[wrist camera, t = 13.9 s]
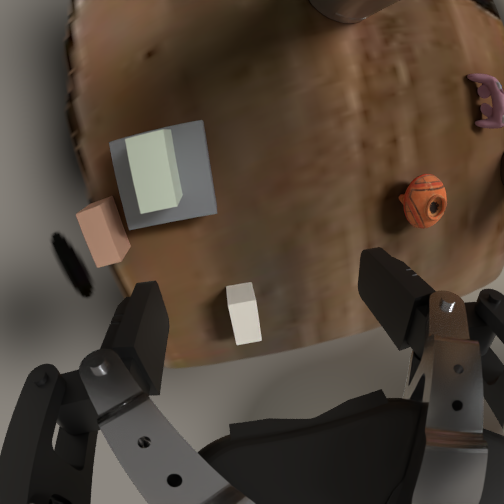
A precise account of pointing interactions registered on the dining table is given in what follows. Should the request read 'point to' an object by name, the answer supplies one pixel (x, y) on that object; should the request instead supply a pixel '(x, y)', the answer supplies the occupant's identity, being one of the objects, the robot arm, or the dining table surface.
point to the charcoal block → (190, 174)
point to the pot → (424, 201)
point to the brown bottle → (502, 169)
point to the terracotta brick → (104, 232)
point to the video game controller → (500, 112)
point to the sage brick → (154, 170)
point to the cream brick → (243, 313)
